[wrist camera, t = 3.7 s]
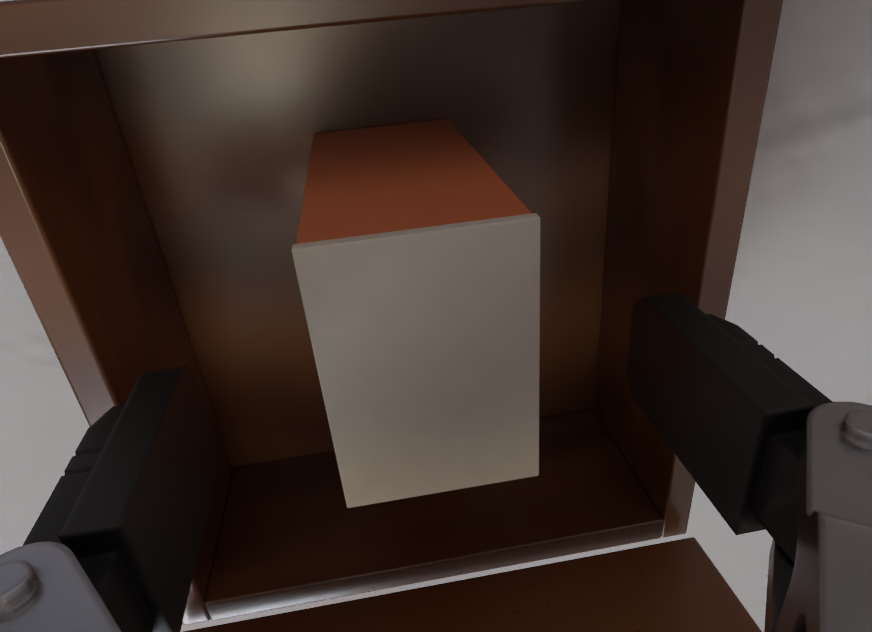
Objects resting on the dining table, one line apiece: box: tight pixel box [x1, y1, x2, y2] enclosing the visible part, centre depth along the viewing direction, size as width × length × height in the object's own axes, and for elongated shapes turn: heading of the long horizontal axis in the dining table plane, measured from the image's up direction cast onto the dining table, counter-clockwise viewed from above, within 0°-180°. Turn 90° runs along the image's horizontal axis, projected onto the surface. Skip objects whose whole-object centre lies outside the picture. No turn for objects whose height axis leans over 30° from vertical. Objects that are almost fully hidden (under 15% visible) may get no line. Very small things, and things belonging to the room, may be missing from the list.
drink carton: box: [292, 119, 540, 508], centre depth 14 cm, size 5×4×8 cm
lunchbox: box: [0, 0, 783, 625], centre depth 16 cm, size 16×15×6 cm
